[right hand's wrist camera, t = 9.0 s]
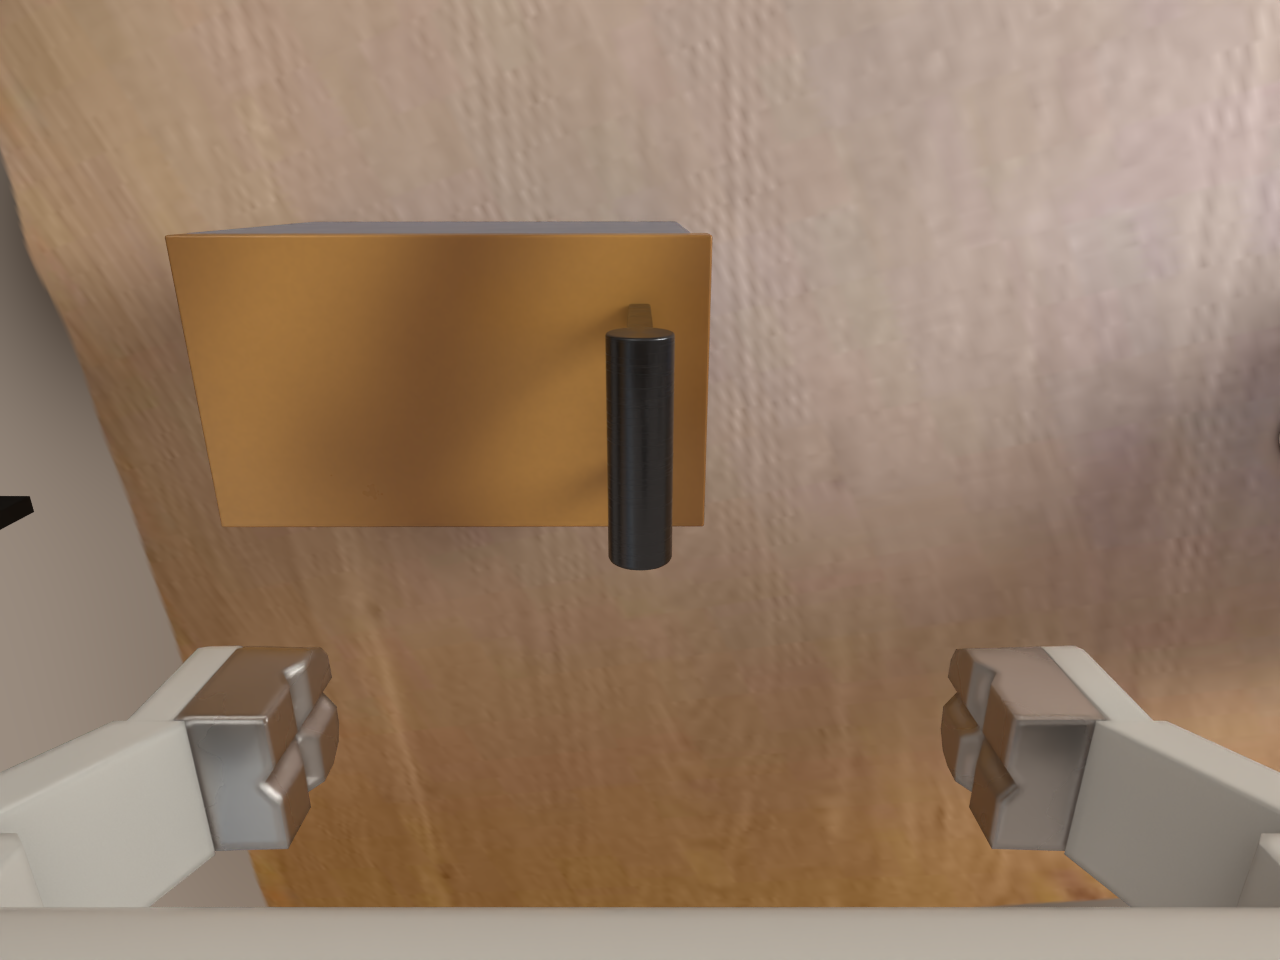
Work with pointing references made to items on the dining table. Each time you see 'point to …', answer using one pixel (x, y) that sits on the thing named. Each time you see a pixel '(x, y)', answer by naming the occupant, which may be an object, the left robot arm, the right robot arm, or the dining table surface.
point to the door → (453, 379)
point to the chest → (461, 227)
